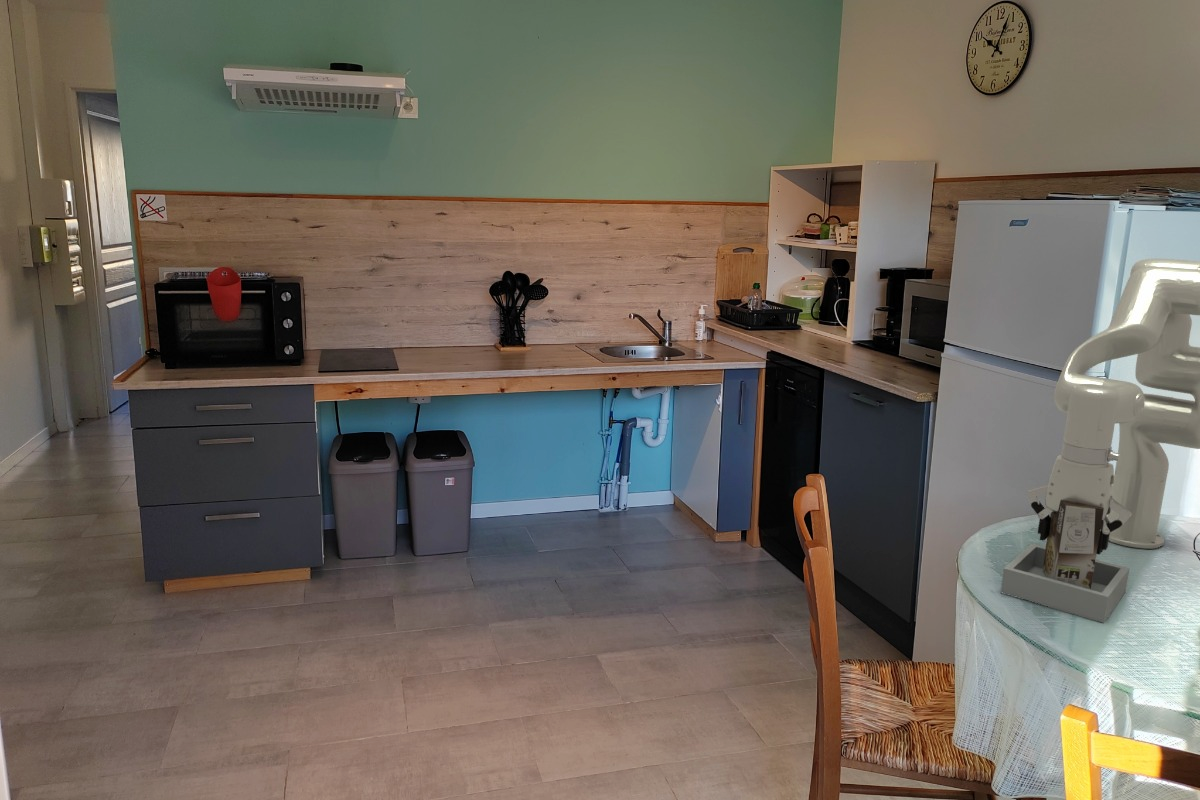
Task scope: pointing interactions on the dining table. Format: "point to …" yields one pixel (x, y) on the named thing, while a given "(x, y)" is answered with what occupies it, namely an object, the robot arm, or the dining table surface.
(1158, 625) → the dining table surface
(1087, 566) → the coffee box
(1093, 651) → the dining table surface
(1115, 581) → the grey bin
